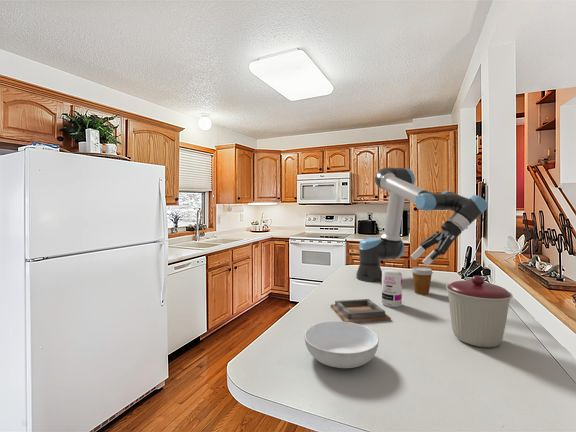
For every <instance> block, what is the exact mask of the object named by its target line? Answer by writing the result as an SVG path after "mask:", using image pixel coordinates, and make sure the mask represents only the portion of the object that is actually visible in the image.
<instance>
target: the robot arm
mask: <svg viewBox="0 0 576 432" xmlns="http://www.w3.org/2000/svg"><path fill="white" fill-rule="evenodd" d="M374 182H375V185H376V186H377V187H378V188H380V189H381V190H383V191H386V192H387V193H388V194H389V195H388V202H387V209H386V210H387V211H386V217H385V223H384V231H383V233H382V234H381V236H380V238H379V237H367V238H363V239H361V240H360V241H359V247H358V248H359V252H358V253H359V259H358V260H359V263H358V267H357V271H356V274H355V275H356V276H355V277H356V279H357V280H359V281H364V282H382V273H383V271H382V268H381V261H384V260H386V261H387V260H395V259H400V258H401V257H403V254H404V253H405V243H404V242H403V240H402V237H401V236H400V234H401V226H402V220H403V213H404V206H405V200H406V201H408V202H411V203H413V204H415V207H416V208H417V209H418V210H419V211H424V212H429V211H431V212H432V211H451V212H453V214H452V215H451V216H450V217H449V218H448V219H447V220H446V221H445V222H444V223H443V224H441V226H440V228H441V231H439V230H437V231H435V232H434V233H433V234H431V235H430V236H429V237H428V238H426V239H424V240H423V241H422V242H420V244H419V245H420V246H419V247H418V248H416V250H415V251H414V252H413V253H412V254H411V255H410V257H411V258H412V259H413V260H414V261H416V260H417V259H419V258H420V257H421V255H422V254H424V253H425V252H426V251H427V250H428V248H430V247H432V246H434V245H436V244H437V246H436V247H435V248H434V249H433V250H432V251H431V252H430V253H429V254H428V255H427V256H425V258H424V259H423V260H422V261H421V263H422V264H424V266H426V267H429V266H430V264H432V263H433V262H434V261H435V260H436V259H438V257H439V256H441V255H442V256H444V255H445V254H446V253H447V251H448V249H449V248H450V247H451V245H452V244H453V242H454V241H455V240H456V239H457V238H458V237H459V236H460V235H461V234H462V233H463V232H464V231H465V230H467V229H468V227H469V226H470V225H471V224H472V223H473V222H475V220H477V219H478V218H479V217H480V216H481V215H483V213H484V212H485V211H486V210H487V209H488V207H489V204H488V202H487V201H486V200H485V198H483V197H481V196H480V195H476V194H475V195H472V196H471V197H469V198H468V197H465V196H463V195H460V194H458V193H455V192H453V191H449V190H445V191H443V192H441V193H439V192H438V193H433V192H431V191H429V190H426V189H424V188H422V187H420V186H417V185H415V183H416V177H415V174H414V173H413V171H412V170H411V169H410V168H405V167H383V168H381V169H379V170H378V171H377V172H376V173H375V175H374Z"/></svg>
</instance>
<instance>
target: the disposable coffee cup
mask: <svg viewBox="0 0 576 432" xmlns="http://www.w3.org/2000/svg"><path fill="white" fill-rule="evenodd" d="M411 273H412V280H413V281H412V282H413V288H414V293H415V294H416V295H422V296H427V295H429V294H430V287H431V281H432V275H433V270H432V268H430V267H424V266H423V267H422V266H415V267H412V269H411Z"/></svg>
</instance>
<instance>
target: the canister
mask: <svg viewBox="0 0 576 432" xmlns="http://www.w3.org/2000/svg"><path fill="white" fill-rule="evenodd" d="M445 289H446V290H447V295H448V303H449V313H450V314H449V315H450V321H451V322H450V323H451V329H452V332H453V335H454V336H455V337H456V338H457V339H458V340H460V341H461V342H463V343H466V344H467V345H470V346H474V347H479V348H495V347H497V346H499V345H500V344H501V343H502V341H503V339H504V334H505V330H506V324H507V319H508V313H509V308H510V307H509V305H510V300H511V299H512V298H513V296H514V295H513V293H512V292H510V291H508V290H507V289H506V288H504V287H502V286H499V285H497V284H493V283H490V282H489V283H488V282H485V279H484V277H482V276H481V275H473V276H472V277H471V280H458V281H457V280H455V281H452V282H451V283H449V284H446V285H445Z"/></svg>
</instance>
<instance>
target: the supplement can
mask: <svg viewBox="0 0 576 432" xmlns="http://www.w3.org/2000/svg"><path fill="white" fill-rule="evenodd" d="M402 285H403V274H402V272H401V270H400V269H395V268H385V269H383V271H382V280H381V303H382V305H383V306H385V307H388V308H399V307H401V306H402V304H403V303H402V302H403V301H402V300H403V299H402V296H403V294H402V293H403V291H402V290H403V286H402Z"/></svg>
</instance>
